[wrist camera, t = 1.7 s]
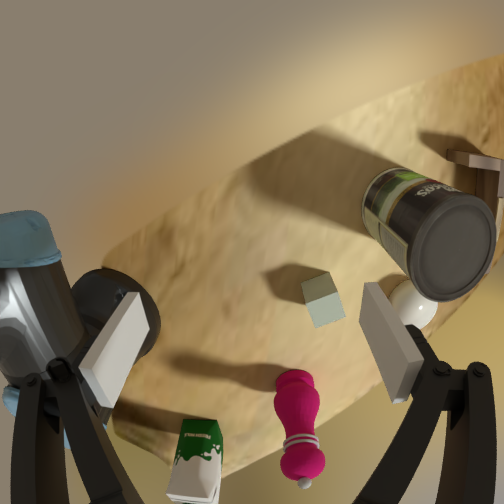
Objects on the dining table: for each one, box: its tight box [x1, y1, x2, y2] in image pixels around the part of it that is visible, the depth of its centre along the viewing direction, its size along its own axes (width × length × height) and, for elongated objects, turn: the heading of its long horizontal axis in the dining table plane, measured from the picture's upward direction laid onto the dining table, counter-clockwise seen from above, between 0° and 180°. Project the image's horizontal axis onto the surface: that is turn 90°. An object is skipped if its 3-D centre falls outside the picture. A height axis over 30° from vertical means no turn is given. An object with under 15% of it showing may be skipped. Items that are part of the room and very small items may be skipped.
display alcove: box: [447, 149, 504, 274], centre depth 31 cm, size 8×16×5 cm, turn 4°
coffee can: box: [361, 168, 497, 302], centre depth 28 cm, size 10×10×14 cm
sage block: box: [301, 272, 346, 328], centre depth 37 cm, size 4×4×5 cm
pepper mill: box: [274, 370, 325, 489], centre depth 37 cm, size 7×7×20 cm
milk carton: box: [166, 419, 223, 504], centre depth 44 cm, size 9×9×20 cm
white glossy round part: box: [388, 279, 438, 329], centre depth 38 cm, size 7×7×4 cm
